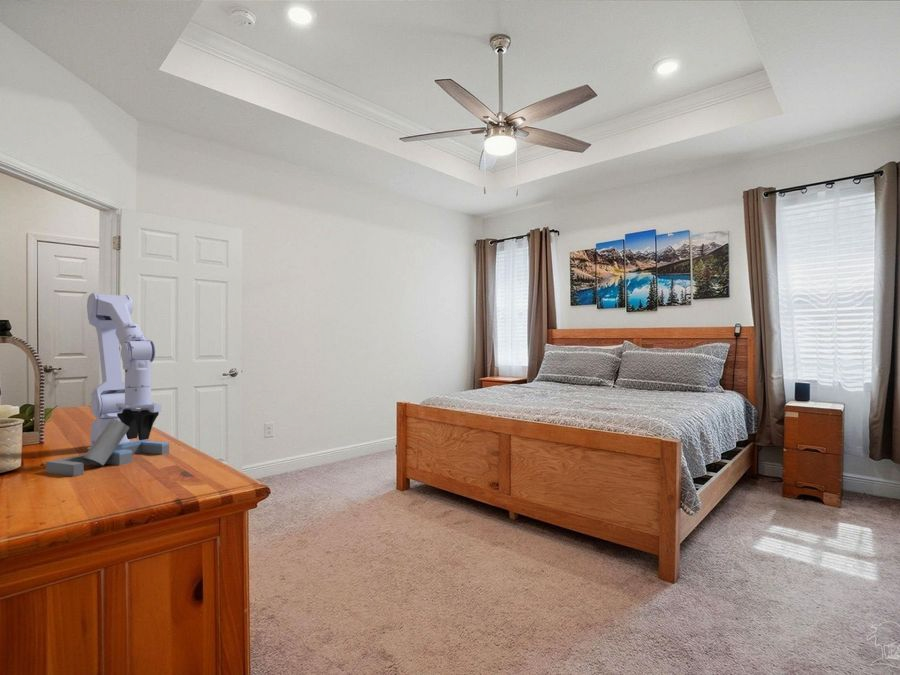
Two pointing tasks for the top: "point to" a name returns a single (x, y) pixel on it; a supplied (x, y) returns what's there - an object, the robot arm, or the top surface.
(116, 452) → the blue u-shaped bracket
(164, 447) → the grey flat angled piece
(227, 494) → the top surface
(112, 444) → the grey cylinder
